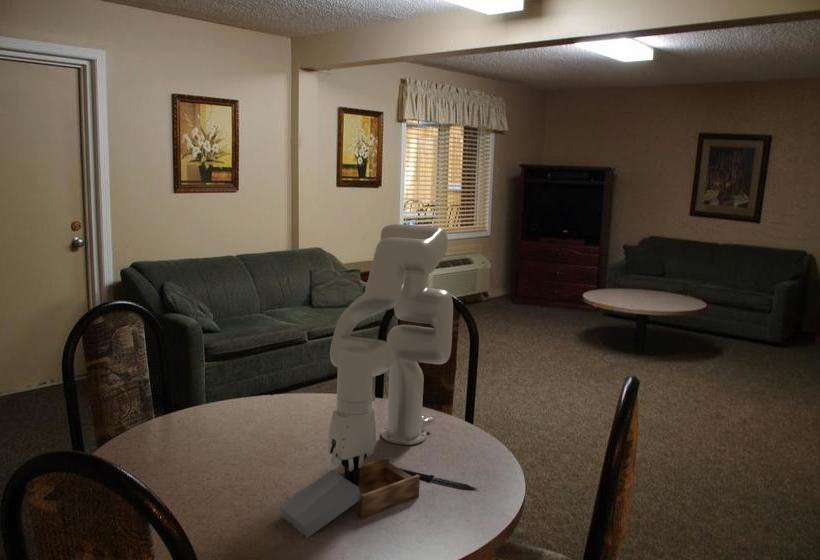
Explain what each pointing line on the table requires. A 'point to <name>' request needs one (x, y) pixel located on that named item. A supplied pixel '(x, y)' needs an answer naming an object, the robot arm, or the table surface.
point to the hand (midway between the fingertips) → (351, 484)
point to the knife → (439, 480)
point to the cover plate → (320, 503)
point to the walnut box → (383, 488)
